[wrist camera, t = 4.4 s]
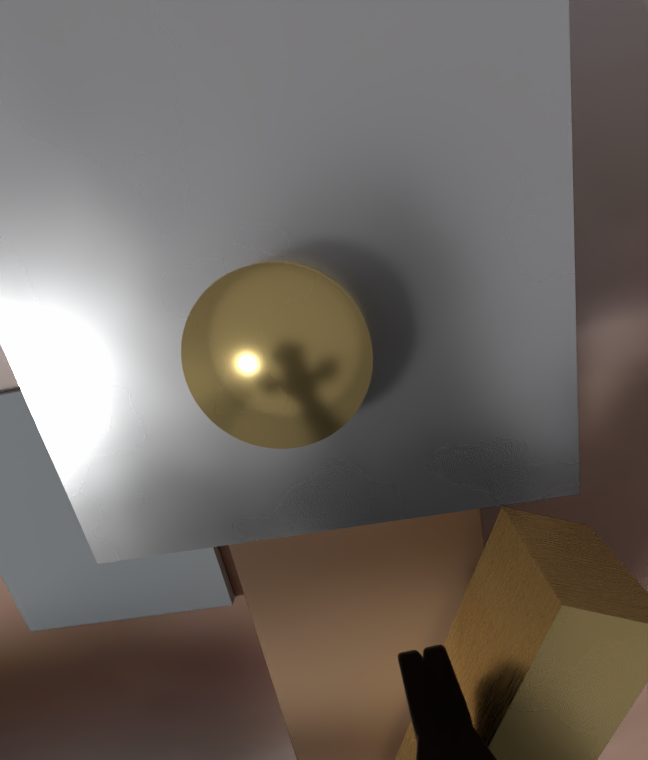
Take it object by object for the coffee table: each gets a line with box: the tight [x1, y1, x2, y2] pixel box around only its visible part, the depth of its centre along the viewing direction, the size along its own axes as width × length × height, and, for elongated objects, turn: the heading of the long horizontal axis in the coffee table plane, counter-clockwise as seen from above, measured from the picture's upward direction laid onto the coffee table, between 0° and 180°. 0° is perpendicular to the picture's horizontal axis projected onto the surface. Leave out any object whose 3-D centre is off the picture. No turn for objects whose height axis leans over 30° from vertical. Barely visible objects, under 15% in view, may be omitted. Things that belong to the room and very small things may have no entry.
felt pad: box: [0, 389, 235, 631], centre depth 13 cm, size 8×7×1 cm
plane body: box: [229, 509, 484, 760], centre depth 11 cm, size 21×6×3 cm, turn 11°
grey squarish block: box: [0, 0, 580, 564], centre depth 6 cm, size 7×6×4 cm
